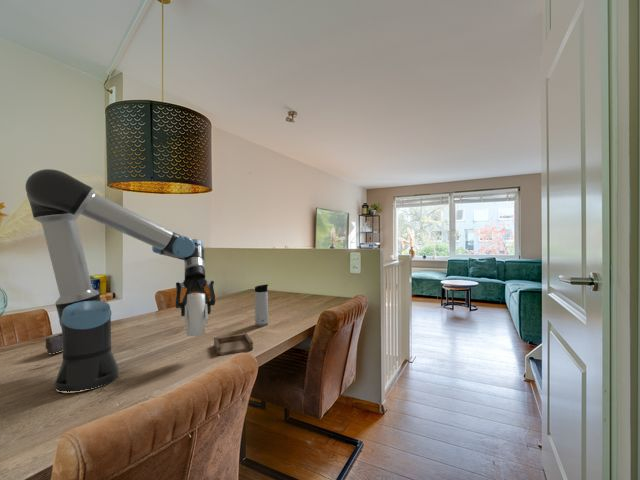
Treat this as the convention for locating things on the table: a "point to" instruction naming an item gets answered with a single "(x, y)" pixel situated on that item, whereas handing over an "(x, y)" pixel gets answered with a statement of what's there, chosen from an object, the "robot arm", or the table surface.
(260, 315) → the travel mug
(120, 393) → the table surface
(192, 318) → the paper roll
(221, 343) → the tray
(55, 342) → the perforated stone tool
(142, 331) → the table surface
